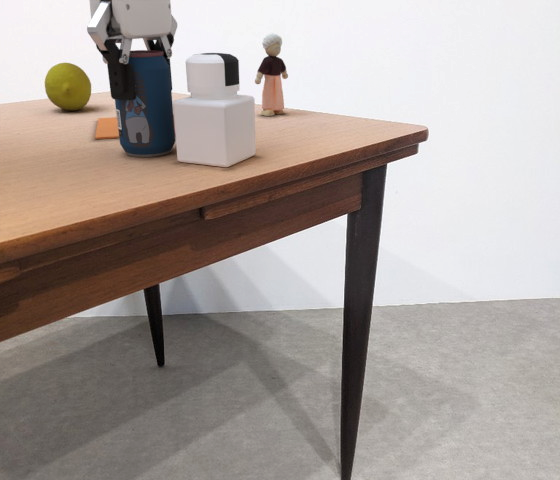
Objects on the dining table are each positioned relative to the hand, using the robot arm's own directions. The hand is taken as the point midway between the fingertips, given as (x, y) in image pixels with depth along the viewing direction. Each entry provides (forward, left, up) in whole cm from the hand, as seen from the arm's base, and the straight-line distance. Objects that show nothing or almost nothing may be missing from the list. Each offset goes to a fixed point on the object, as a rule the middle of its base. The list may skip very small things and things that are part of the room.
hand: (143, 93), depth 74 cm
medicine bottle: (+8, -6, -7) cm, 12 cm away
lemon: (-12, +38, -7) cm, 41 cm away
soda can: (0, 0, -7) cm, 7 cm away
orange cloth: (+4, +18, -7) cm, 20 cm away
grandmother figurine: (+22, +24, -7) cm, 33 cm away
